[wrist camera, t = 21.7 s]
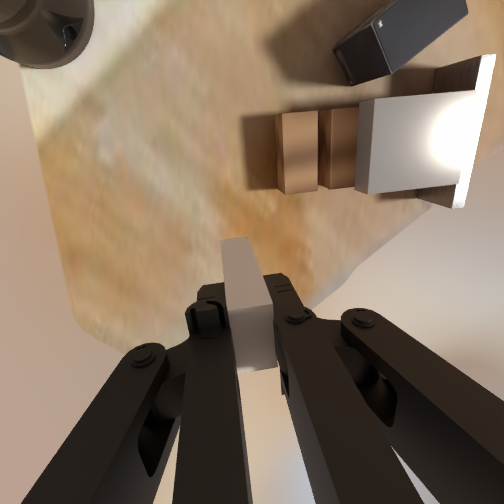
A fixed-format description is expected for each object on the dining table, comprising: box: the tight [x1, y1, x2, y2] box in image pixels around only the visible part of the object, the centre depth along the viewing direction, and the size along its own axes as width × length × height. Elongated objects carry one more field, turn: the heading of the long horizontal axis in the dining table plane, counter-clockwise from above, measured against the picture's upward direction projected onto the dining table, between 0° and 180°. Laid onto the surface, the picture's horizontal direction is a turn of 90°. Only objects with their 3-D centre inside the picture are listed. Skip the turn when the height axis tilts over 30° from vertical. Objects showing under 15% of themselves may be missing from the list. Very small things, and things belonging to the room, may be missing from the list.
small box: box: [333, 0, 468, 86], centre depth 36 cm, size 11×6×10 cm, turn 127°
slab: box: [354, 90, 478, 194], centre depth 40 cm, size 12×14×4 cm
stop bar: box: [417, 54, 496, 209], centre depth 43 cm, size 20×2×8 cm, turn 5°
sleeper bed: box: [274, 107, 359, 195], centre depth 43 cm, size 11×19×5 cm, turn 95°
